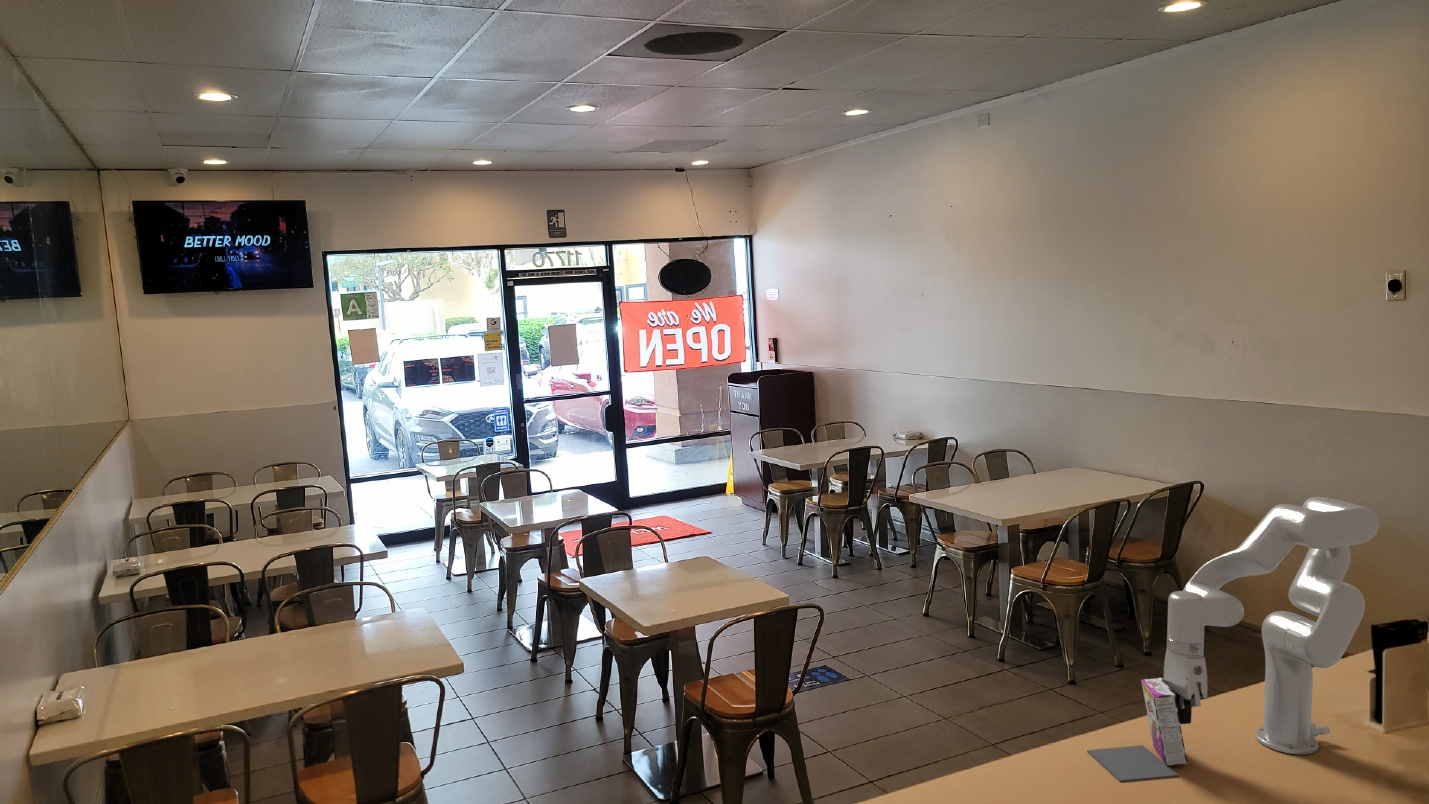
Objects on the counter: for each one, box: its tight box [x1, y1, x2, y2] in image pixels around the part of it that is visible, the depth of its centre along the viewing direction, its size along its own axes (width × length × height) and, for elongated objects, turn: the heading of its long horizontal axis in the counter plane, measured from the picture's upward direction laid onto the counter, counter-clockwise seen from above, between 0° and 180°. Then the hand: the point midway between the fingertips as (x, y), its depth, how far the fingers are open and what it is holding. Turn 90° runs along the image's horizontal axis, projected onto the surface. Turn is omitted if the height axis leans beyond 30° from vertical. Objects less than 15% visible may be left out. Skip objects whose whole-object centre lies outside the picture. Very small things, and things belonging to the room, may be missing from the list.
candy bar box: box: [1140, 677, 1188, 767], centre depth 212 cm, size 11×5×16 cm, turn 169°
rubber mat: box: [1086, 744, 1180, 783], centre depth 210 cm, size 14×14×1 cm
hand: (1182, 722), depth 212 cm, fingers closed
